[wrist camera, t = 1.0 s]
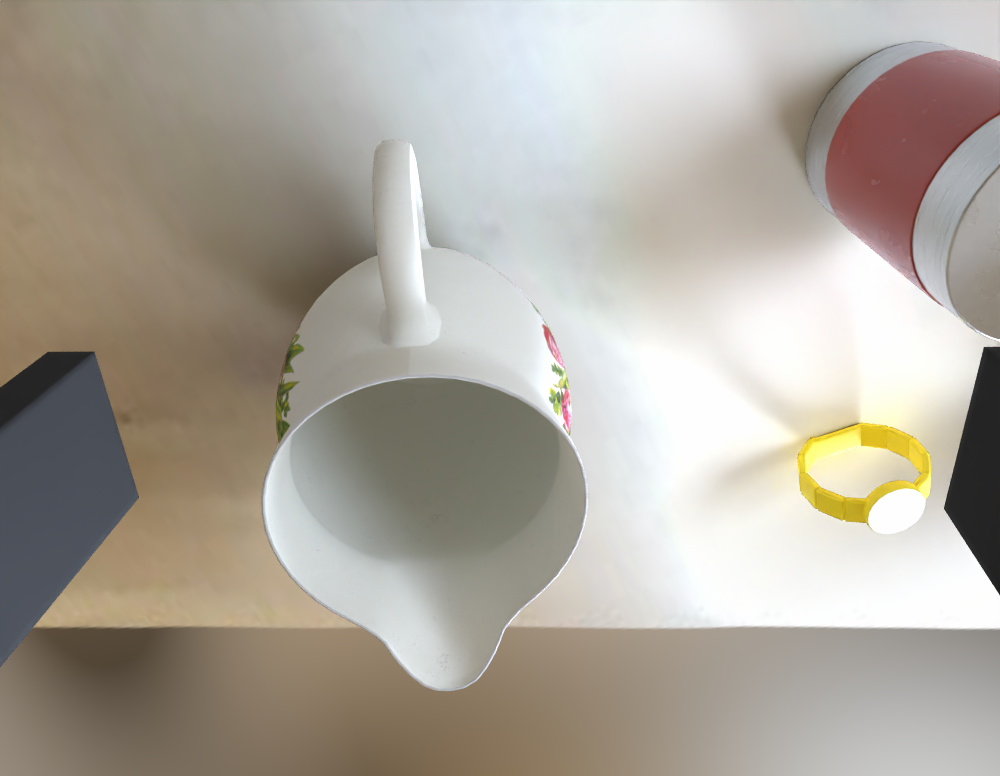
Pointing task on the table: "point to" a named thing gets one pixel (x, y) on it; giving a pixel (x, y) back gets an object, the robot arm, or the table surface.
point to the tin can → (919, 170)
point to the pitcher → (423, 446)
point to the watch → (887, 503)
